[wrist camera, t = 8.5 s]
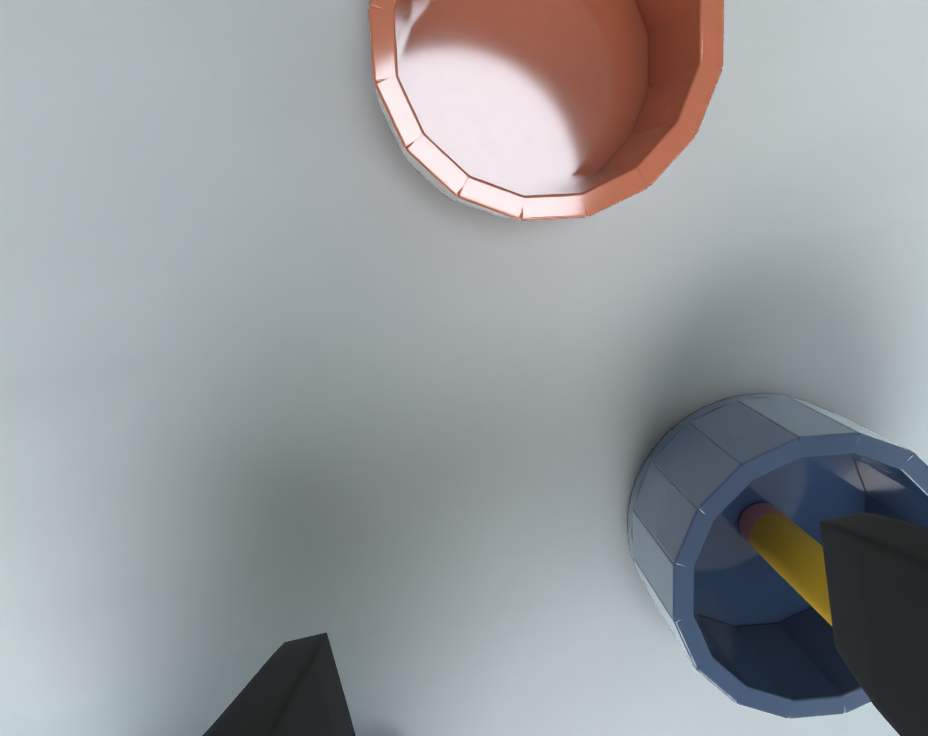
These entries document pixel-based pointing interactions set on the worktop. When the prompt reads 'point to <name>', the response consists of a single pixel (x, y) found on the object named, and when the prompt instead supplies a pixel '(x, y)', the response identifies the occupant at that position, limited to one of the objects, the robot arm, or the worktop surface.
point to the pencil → (788, 553)
